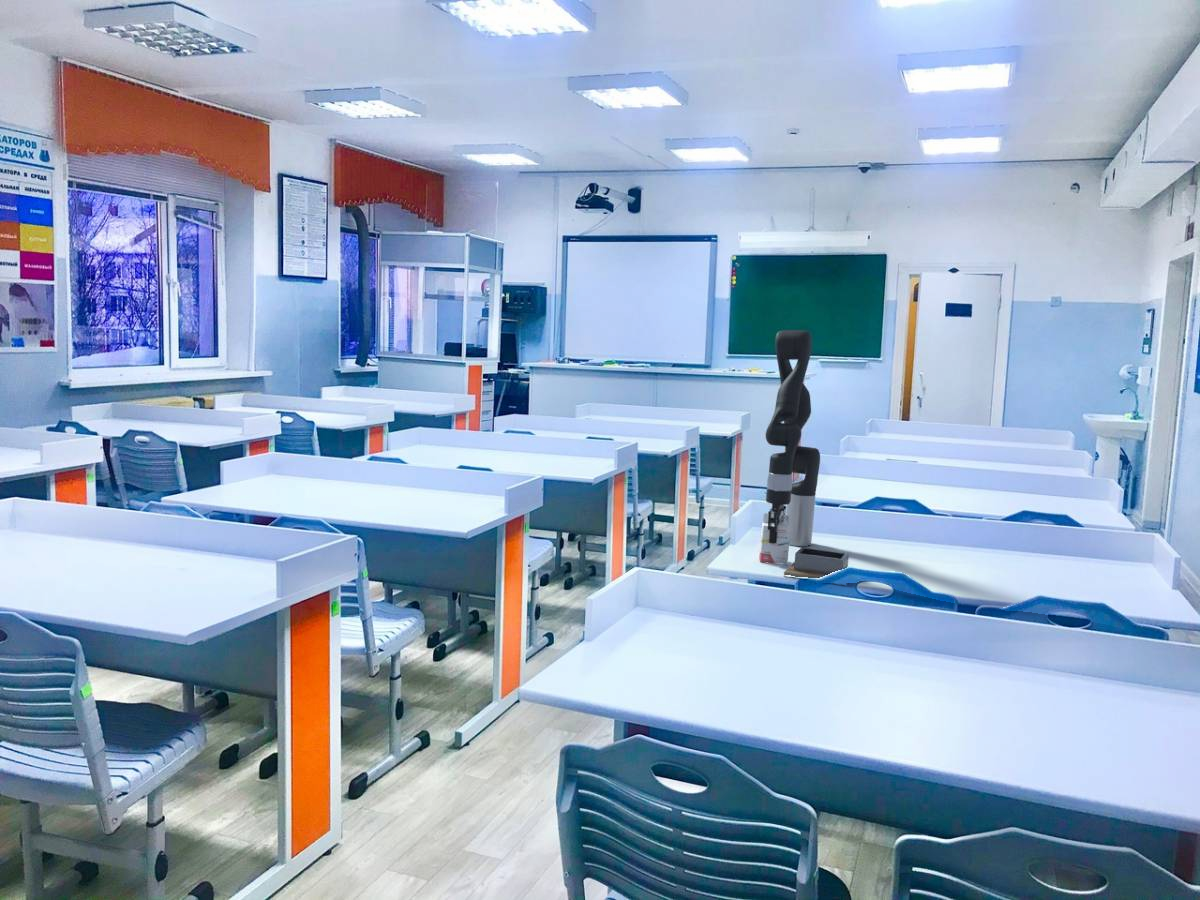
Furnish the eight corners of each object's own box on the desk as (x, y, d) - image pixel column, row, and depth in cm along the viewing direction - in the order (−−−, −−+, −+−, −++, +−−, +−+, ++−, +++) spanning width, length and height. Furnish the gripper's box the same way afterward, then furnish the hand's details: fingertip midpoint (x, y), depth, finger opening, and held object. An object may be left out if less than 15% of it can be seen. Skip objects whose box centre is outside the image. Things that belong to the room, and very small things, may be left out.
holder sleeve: (800, 563, 296) (802, 547, 295) (847, 569, 291) (848, 553, 290) (793, 569, 287) (795, 553, 286) (842, 576, 282) (843, 560, 281)
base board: (796, 564, 301) (796, 559, 300) (855, 572, 294) (856, 568, 294) (783, 576, 284) (784, 571, 284) (846, 586, 277) (846, 580, 277)
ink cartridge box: (759, 562, 300) (763, 515, 299) (758, 558, 305) (762, 512, 303) (787, 564, 300) (791, 517, 298) (786, 561, 304) (790, 514, 303)
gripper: (772, 483, 308) (768, 535, 310) (761, 489, 294) (757, 543, 296) (796, 486, 305) (791, 538, 307) (786, 492, 291) (781, 547, 294)
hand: (774, 541), depth 302 cm, fingers closed on ink cartridge box, 5 cm apart
